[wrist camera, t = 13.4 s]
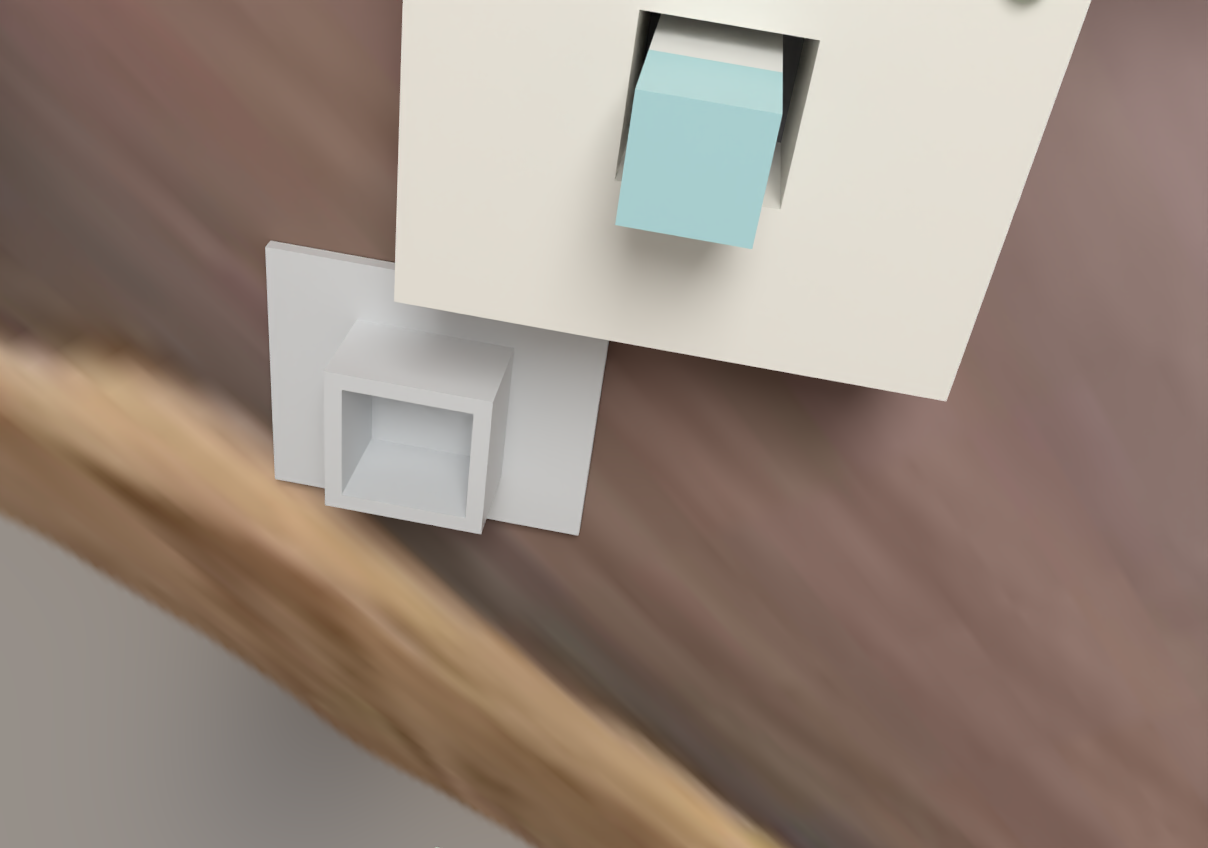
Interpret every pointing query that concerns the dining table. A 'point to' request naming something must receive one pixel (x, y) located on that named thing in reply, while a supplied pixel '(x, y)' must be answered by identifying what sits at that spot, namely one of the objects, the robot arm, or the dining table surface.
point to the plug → (703, 131)
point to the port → (793, 193)
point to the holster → (424, 401)
